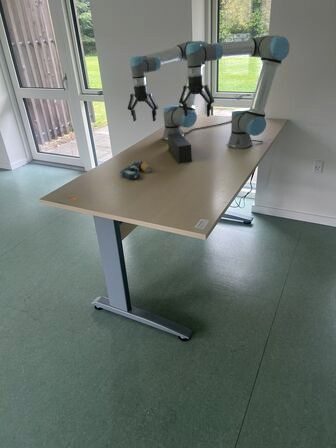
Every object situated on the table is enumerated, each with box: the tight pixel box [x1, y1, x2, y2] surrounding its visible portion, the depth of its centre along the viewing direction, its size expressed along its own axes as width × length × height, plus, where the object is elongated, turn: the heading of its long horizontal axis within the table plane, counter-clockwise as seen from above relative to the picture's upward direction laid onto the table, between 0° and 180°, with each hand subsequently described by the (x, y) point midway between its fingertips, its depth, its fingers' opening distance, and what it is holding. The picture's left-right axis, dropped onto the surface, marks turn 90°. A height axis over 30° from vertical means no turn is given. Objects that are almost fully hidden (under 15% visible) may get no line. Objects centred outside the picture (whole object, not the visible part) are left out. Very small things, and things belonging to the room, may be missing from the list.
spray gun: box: [119, 160, 152, 180], centre depth 195 cm, size 21×4×15 cm
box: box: [167, 133, 193, 164], centre depth 214 cm, size 28×8×10 cm, turn 14°
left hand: (144, 120), depth 212 cm, fingers open, 13 cm apart
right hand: (197, 115), depth 190 cm, fingers open, 13 cm apart
